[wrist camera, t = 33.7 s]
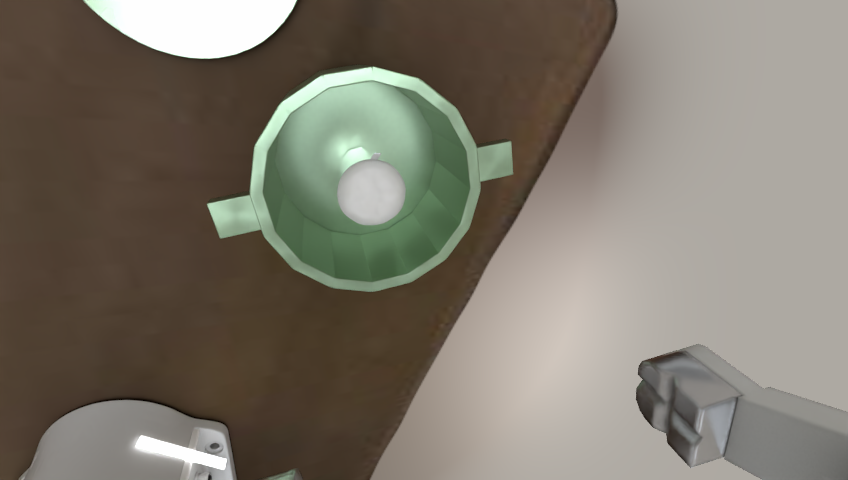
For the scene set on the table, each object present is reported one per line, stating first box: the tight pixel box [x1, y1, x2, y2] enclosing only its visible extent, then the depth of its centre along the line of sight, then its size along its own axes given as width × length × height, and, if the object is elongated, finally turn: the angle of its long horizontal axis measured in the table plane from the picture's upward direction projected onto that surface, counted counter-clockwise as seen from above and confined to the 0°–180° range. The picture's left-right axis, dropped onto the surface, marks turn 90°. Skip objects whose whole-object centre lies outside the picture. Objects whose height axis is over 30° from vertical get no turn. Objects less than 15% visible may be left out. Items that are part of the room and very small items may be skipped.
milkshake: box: [337, 147, 406, 225], centre depth 31 cm, size 4×5×10 cm
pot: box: [207, 64, 513, 292], centre depth 31 cm, size 15×20×10 cm
